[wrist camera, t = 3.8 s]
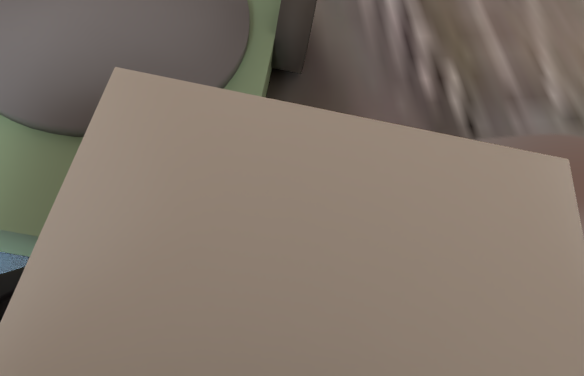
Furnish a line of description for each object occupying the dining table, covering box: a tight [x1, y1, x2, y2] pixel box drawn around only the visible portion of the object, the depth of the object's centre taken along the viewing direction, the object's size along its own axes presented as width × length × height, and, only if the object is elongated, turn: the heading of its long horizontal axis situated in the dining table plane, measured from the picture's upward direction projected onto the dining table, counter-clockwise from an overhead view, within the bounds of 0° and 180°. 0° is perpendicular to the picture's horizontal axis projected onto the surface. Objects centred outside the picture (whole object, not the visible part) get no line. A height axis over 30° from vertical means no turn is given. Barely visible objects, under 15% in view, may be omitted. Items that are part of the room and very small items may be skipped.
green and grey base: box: [0, 0, 317, 257], centre depth 15 cm, size 22×16×5 cm
